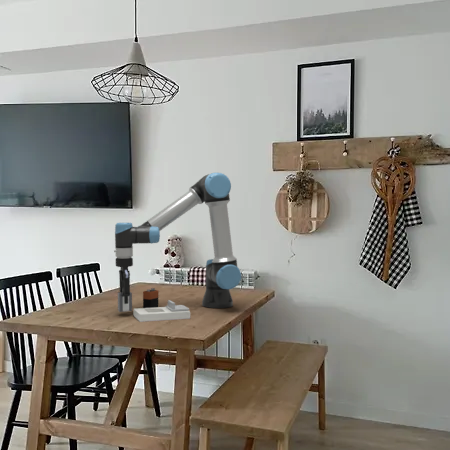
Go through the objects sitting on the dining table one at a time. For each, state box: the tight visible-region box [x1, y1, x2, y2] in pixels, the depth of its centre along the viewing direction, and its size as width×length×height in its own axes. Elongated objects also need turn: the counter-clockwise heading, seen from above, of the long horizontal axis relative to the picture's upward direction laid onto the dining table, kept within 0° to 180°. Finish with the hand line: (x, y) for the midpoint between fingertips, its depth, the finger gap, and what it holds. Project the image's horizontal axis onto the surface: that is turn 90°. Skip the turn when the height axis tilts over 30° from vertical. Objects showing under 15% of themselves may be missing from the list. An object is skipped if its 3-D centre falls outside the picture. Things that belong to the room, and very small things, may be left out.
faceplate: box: [132, 306, 191, 323], centre depth 226 cm, size 22×14×3 cm, turn 111°
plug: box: [117, 291, 133, 313], centre depth 229 cm, size 6×4×10 cm
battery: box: [142, 287, 159, 308], centre depth 242 cm, size 4×7×10 cm, turn 151°
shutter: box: [165, 299, 190, 311], centre depth 229 cm, size 8×10×3 cm
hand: (124, 309), depth 229 cm, fingers closed on plug, 4 cm apart
